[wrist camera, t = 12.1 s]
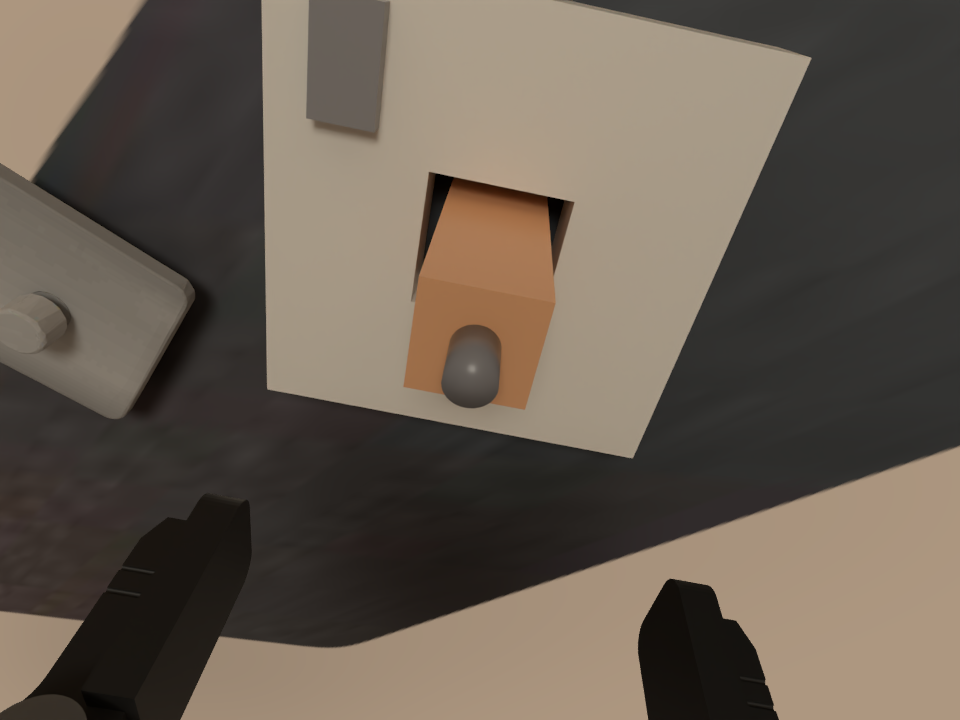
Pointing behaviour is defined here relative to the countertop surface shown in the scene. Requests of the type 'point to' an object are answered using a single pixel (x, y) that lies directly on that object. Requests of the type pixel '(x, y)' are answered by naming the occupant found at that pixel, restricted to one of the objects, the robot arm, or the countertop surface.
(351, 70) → the socket
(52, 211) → the light switch
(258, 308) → the countertop surface
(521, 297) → the plug
